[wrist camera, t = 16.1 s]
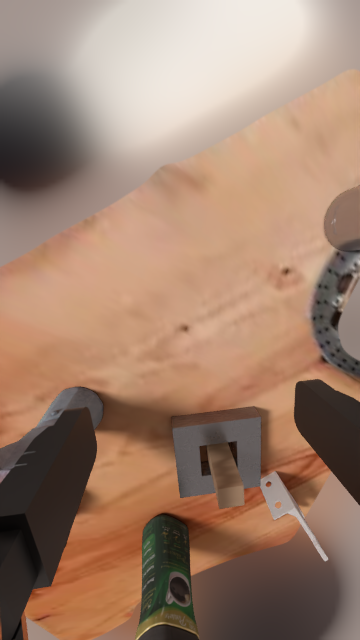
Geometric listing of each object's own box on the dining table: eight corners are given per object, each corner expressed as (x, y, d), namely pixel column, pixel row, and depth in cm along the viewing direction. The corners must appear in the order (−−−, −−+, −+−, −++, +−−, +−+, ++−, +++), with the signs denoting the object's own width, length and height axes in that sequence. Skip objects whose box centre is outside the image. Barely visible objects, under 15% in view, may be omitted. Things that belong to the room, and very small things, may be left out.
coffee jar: (137, 530, 47) (121, 694, 29) (158, 507, 46) (156, 661, 28) (172, 547, 49) (177, 709, 31) (194, 525, 48) (212, 680, 30)
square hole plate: (254, 406, 42) (260, 416, 39) (254, 472, 46) (260, 486, 43) (171, 416, 41) (172, 428, 38) (179, 482, 45) (180, 497, 42)
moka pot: (78, 362, 37) (-16, 469, 18) (127, 427, 41) (94, 574, 21) (31, 388, 37) (-110, 520, 18) (84, 450, 41) (13, 613, 22)
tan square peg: (225, 435, 43) (243, 485, 33) (226, 452, 44) (244, 505, 34) (205, 438, 43) (217, 489, 33) (207, 455, 44) (219, 509, 34)
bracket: (255, 476, 47) (276, 525, 37) (273, 466, 47) (298, 513, 37) (280, 514, 49) (306, 570, 39) (297, 504, 48) (328, 559, 38)
